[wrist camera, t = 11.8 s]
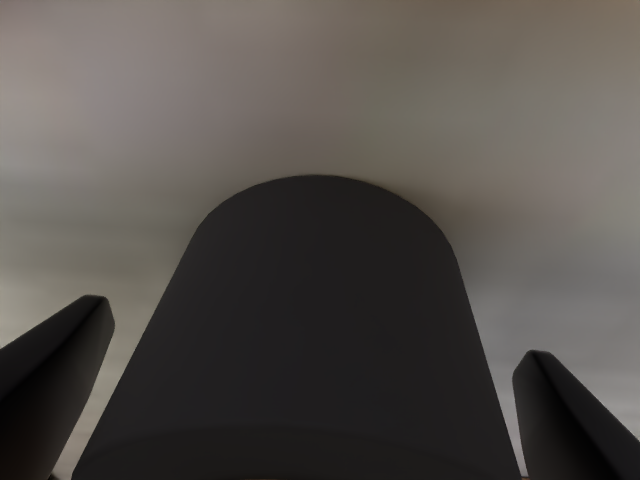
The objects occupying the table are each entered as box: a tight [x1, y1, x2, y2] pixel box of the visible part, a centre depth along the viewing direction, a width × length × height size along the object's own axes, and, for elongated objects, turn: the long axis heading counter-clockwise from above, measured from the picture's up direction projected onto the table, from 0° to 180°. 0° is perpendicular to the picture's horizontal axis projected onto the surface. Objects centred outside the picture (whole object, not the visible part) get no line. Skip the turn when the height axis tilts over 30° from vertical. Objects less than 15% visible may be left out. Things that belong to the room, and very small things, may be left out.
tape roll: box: [71, 175, 522, 480], centre depth 8 cm, size 6×6×5 cm
